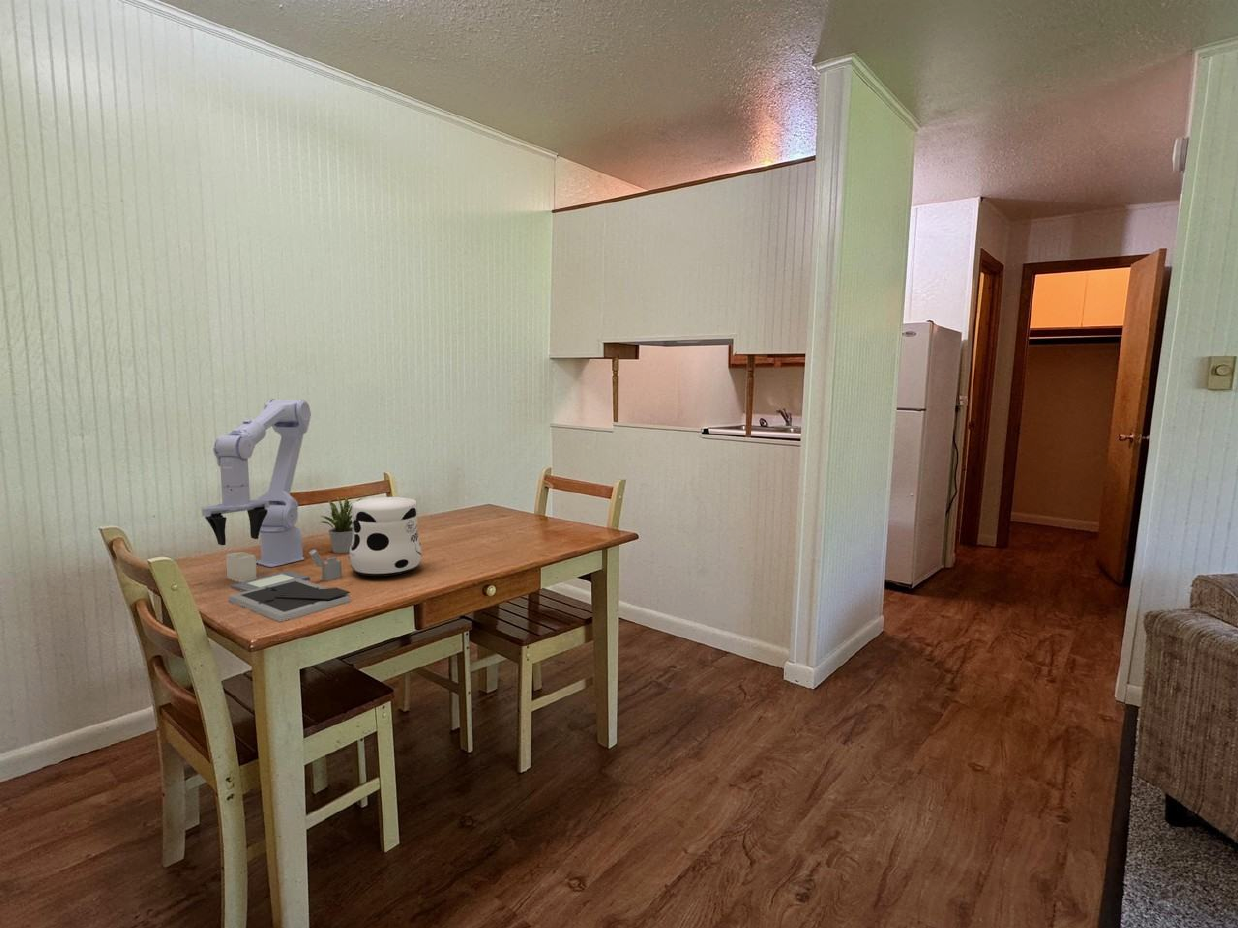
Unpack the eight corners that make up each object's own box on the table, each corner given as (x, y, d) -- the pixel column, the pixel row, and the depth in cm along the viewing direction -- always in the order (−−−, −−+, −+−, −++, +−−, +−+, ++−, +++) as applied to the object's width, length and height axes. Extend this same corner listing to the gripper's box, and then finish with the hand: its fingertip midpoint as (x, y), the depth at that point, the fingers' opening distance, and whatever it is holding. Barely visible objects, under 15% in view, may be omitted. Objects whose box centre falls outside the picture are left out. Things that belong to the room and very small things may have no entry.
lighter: (338, 576, 163) (337, 544, 162) (342, 577, 162) (340, 545, 161) (309, 582, 157) (308, 549, 156) (312, 583, 156) (311, 551, 155)
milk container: (436, 568, 170) (434, 500, 168) (381, 585, 156) (379, 511, 153) (390, 558, 179) (388, 493, 177) (335, 574, 164) (332, 503, 162)
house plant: (383, 545, 192) (381, 490, 190) (360, 558, 179) (358, 499, 177) (337, 543, 194) (335, 489, 192) (310, 556, 180) (308, 497, 178)
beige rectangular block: (241, 575, 162) (240, 551, 161) (256, 579, 159) (255, 555, 158) (227, 578, 159) (225, 554, 158) (242, 583, 156) (240, 558, 155)
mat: (288, 573, 164) (288, 570, 164) (309, 579, 160) (309, 576, 160) (231, 587, 152) (230, 584, 152) (252, 594, 148) (252, 591, 148)
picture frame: (350, 604, 145) (298, 586, 156) (350, 591, 144) (297, 575, 156) (280, 625, 132) (229, 604, 143) (279, 612, 131) (228, 592, 143)
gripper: (211, 491, 147) (214, 550, 149) (274, 483, 159) (277, 538, 161) (196, 487, 151) (199, 545, 153) (259, 480, 163) (262, 534, 165)
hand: (238, 541), depth 157 cm, fingers open, 7 cm apart
